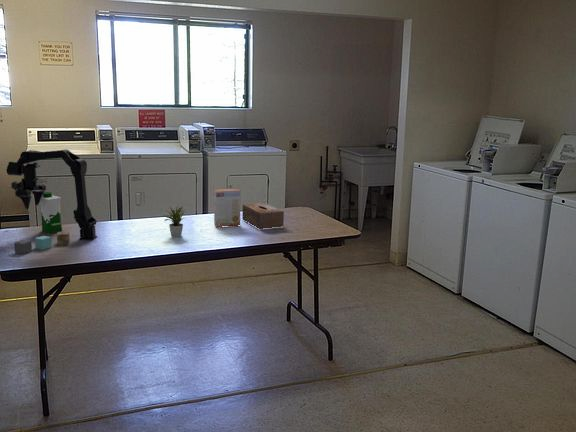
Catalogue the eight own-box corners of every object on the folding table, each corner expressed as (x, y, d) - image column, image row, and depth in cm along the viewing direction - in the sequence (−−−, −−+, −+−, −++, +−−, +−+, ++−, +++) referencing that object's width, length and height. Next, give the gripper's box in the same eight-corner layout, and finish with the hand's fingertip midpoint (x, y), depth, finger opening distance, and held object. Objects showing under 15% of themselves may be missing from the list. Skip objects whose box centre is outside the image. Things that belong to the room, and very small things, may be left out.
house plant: (169, 231, 294) (168, 201, 291) (193, 233, 292) (193, 203, 288) (157, 237, 281) (157, 206, 277) (183, 240, 278) (183, 208, 275)
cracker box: (237, 224, 315) (238, 188, 311) (240, 226, 310) (241, 190, 305) (213, 225, 310) (213, 189, 306) (216, 228, 305) (216, 191, 300)
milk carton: (54, 228, 293) (51, 191, 288) (65, 230, 288) (62, 193, 284) (39, 231, 286) (36, 193, 281) (50, 234, 281) (47, 195, 277)
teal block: (51, 247, 258) (51, 237, 257) (42, 249, 254) (42, 239, 253) (44, 245, 261) (44, 235, 260) (35, 248, 256) (34, 237, 255)
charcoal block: (32, 251, 251) (31, 240, 250) (24, 254, 247) (23, 243, 246) (22, 250, 253) (21, 239, 251) (14, 253, 248) (14, 242, 247)
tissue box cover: (283, 228, 310) (283, 211, 307) (259, 230, 303) (260, 213, 301) (264, 218, 332) (264, 202, 330) (242, 220, 326) (242, 204, 323)
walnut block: (69, 241, 269) (69, 231, 268) (68, 244, 265) (68, 234, 264) (58, 241, 268) (58, 231, 267) (57, 244, 263) (56, 234, 262)
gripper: (24, 172, 280) (26, 202, 284) (3, 178, 262) (5, 210, 266) (45, 173, 280) (47, 203, 283) (25, 179, 261) (28, 211, 265)
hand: (32, 207), depth 274 cm, fingers open, 9 cm apart
